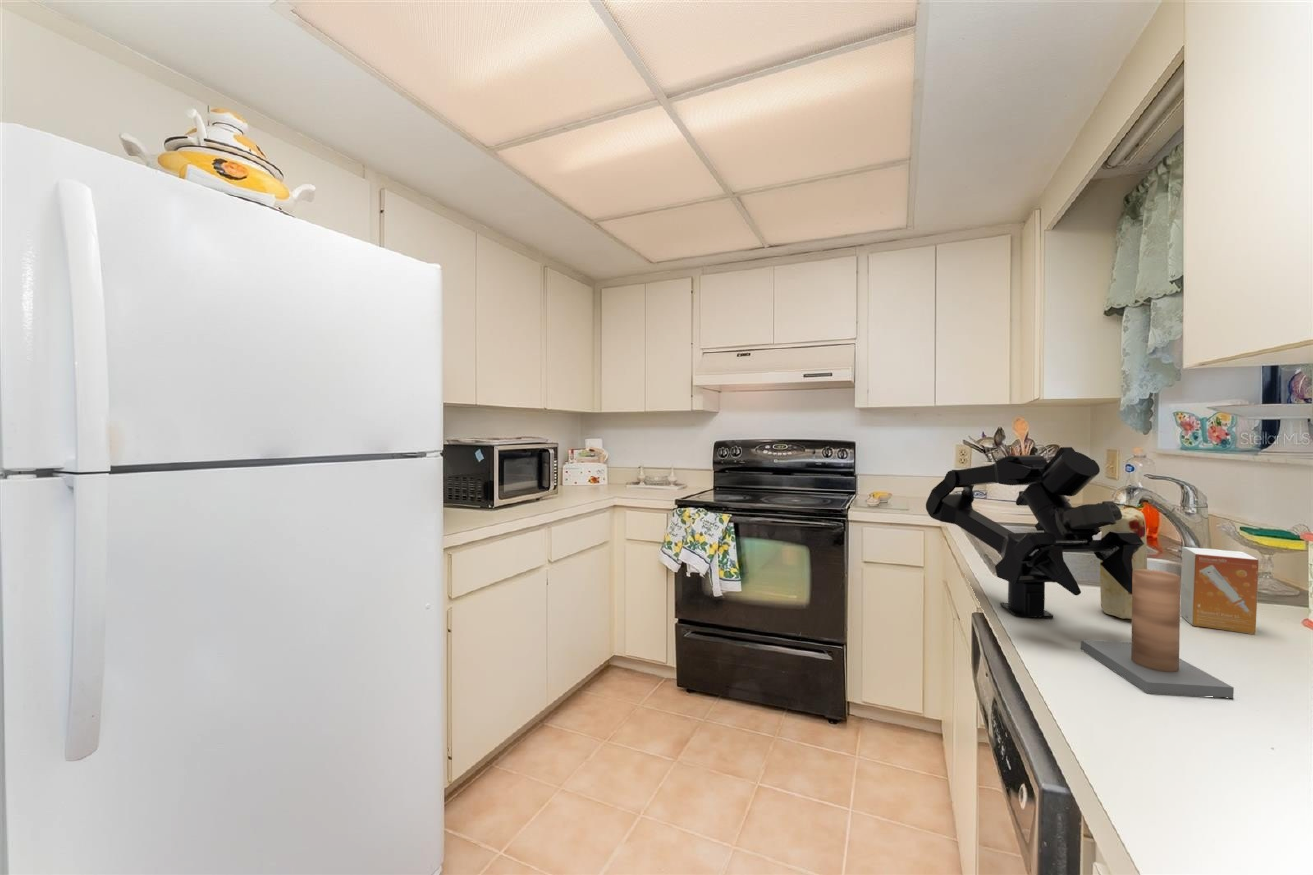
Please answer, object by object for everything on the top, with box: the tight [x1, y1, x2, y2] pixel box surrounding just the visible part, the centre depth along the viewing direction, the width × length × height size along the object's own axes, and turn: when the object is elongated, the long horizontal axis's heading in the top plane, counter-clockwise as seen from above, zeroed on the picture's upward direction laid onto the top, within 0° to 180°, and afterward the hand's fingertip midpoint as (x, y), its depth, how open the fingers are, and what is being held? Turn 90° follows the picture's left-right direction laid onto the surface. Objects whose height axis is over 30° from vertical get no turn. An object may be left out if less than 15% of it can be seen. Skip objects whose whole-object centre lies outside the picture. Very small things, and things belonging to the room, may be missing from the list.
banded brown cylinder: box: [1130, 568, 1181, 672], centre depth 76 cm, size 5×5×13 cm
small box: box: [1180, 546, 1260, 635], centre depth 95 cm, size 8×6×13 cm
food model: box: [1099, 507, 1148, 620], centre depth 99 cm, size 10×7×20 cm
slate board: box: [1080, 639, 1235, 699], centre depth 77 cm, size 14×10×2 cm
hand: (1106, 593), depth 84 cm, fingers open, 9 cm apart
